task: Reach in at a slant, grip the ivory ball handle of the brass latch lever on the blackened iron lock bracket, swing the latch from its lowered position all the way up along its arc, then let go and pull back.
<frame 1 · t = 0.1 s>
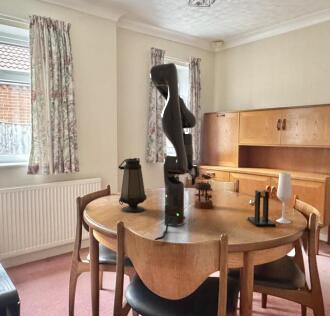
hand: (185, 184, 154), 17 cm above the table, tool pointing down, fingers open, 8 cm apart
latch lever: (256, 199, 149), point 10 cm above the table, hinge at -30.0°
lantern: (133, 210, 171), on the table
dark brown tall piece: (202, 206, 177), on the table
lock bracket: (261, 222, 144), on the table
champagne flute: (283, 221, 146), on the table
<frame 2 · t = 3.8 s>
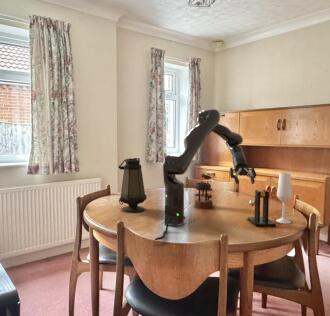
hand: (245, 183, 166), 16 cm above the table, tool tilted 45°, fingers open, 8 cm apart
nothing on the table moved.
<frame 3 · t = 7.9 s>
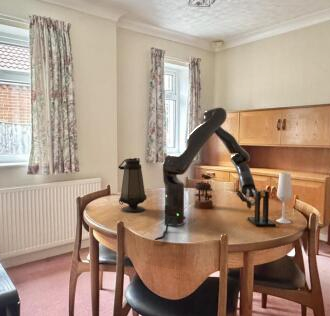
hand: (253, 207, 154), 5 cm above the table, tool tilted 45°, fingers closed on latch lever, 3 cm apart
latch lever: (256, 199, 149), point 10 cm above the table, hinge at -30.0°, touching gripper
everything else where it was.
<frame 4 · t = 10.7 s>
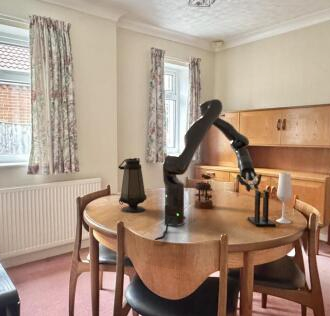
hand: (252, 190, 155), 14 cm above the table, tool tilted 45°, fingers closed on latch lever, 3 cm apart
latch lever: (256, 190, 150), point 15 cm above the table, hinge at 5.5°, touching gripper
everything else where it was.
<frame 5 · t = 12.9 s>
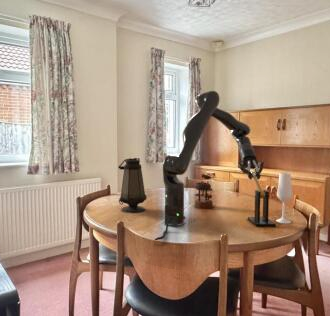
hand: (255, 178, 152), 20 cm above the table, tool tilted 45°, fingers closed on latch lever, 3 cm apart
latch lever: (257, 184, 148), point 18 cm above the table, hinge at 34.7°, touching gripper
everything else where it was.
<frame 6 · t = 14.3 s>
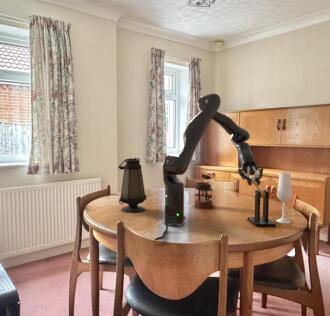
hand: (254, 184, 152), 17 cm above the table, tool tilted 45°, fingers open, 3 cm apart
latch lever: (256, 186, 149), point 17 cm above the table, hinge at 21.5°
everything else where it was.
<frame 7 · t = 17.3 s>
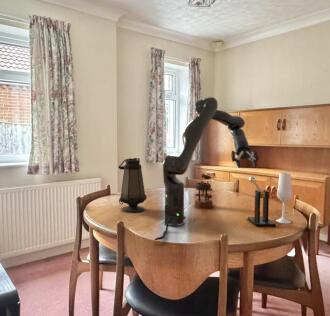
hand: (247, 166, 161), 25 cm above the table, tool tilted 45°, fingers open, 8 cm apart
nothing on the table moved.
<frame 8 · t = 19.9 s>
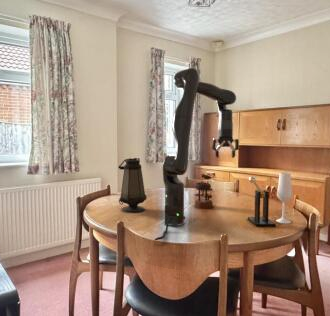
hand: (225, 157, 165), 30 cm above the table, tool pointing down, fingers open, 8 cm apart
nothing on the table moved.
at the end: latch lever reached +35° during the clip, +22° at the end; latch lever at +22° (first picture: -30°); the gripper is holding nothing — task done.
